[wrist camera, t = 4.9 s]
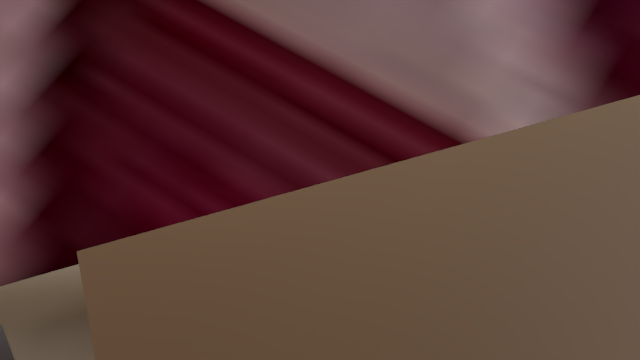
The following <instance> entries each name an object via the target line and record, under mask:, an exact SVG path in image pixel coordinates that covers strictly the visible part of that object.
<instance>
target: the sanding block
mask: <svg viewBox="0 0 640 360" xmlns="http://www.w3.org/2000/svg"><path fill="white" fill-rule="evenodd" d="M77 256H78V262H79V268H80V274H81V280H82V286H83V292H84V297H85V303H86V309H87V315H88V321H89V327H90V333H91V338H92V344H93V350H94V356H95V360H640V95H638V96H634V97H631V98H627V99H624V100H620V101H616V102H613V103H609V104H606V105H602V106H598V107H595V108H591V109H588V110H584V111H580V112H577V113H573V114H570V115H566V116H562V117H559V118H555V119H552V120H548V121H544V122H541V123H537V124H534V125H530V126H526V127H523V128H519V129H516V130H512V131H508V132H505V133H501V134H498V135H494V136H491V137H487V138H483V139H480V140H476V141H473V142H469V143H465V144H462V145H458V146H455V147H451V148H447V149H444V150H440V151H437V152H433V153H429V154H426V155H422V156H419V157H415V158H411V159H408V160H404V161H401V162H397V163H393V164H390V165H386V166H383V167H379V168H375V169H372V170H368V171H365V172H361V173H357V174H354V175H350V176H347V177H343V178H339V179H336V180H332V181H329V182H325V183H321V184H318V185H314V186H311V187H307V188H303V189H300V190H296V191H293V192H289V193H285V194H282V195H278V196H275V197H271V198H267V199H264V200H260V201H257V202H253V203H249V204H246V205H242V206H239V207H235V208H231V209H228V210H224V211H221V212H217V213H213V214H210V215H206V216H203V217H199V218H195V219H192V220H188V221H185V222H181V223H177V224H174V225H170V226H167V227H163V228H159V229H156V230H152V231H149V232H145V233H141V234H138V235H134V236H131V237H127V238H123V239H120V240H116V241H113V242H109V243H105V244H102V245H98V246H95V247H91V248H87V249H84V250H80V251H77Z"/></svg>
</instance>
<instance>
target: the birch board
mask: <svg viewBox="0 0 640 360" xmlns="http://www.w3.org/2000/svg"><path fill="white" fill-rule="evenodd" d="M0 360H95V356H94V350H93V344H92V338H91V333H90V327H89V321H88V315H87V309H86V303H85V297H84V292H83V286H82V280H81V274H80V268H79V264H77V265H74V266H70V267H67V268H63V269H60V270H56V271H53V272H49V273H46V274H42V275H39V276H35V277H32V278H28V279H25V280H21V281H17V282H14V283H10V284H7V285H3V286H0Z"/></svg>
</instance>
